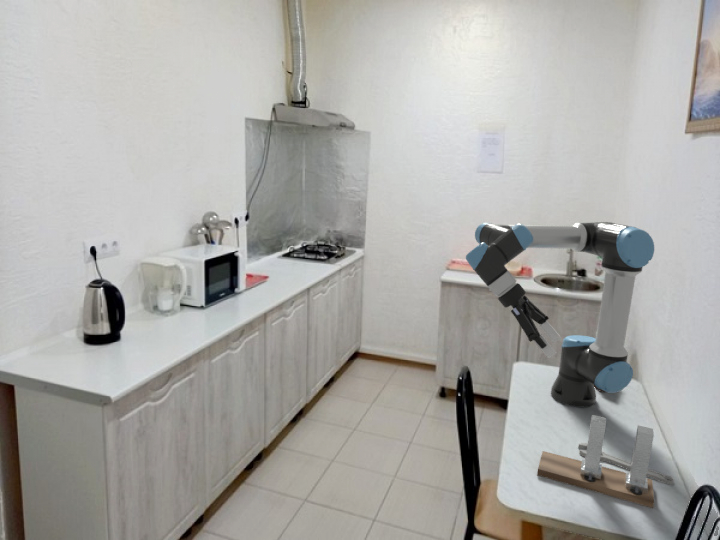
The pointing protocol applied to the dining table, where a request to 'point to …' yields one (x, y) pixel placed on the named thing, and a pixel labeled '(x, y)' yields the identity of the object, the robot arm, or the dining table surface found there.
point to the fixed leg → (640, 460)
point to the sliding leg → (594, 448)
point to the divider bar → (608, 484)
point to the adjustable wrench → (628, 465)
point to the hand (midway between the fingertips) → (555, 348)
